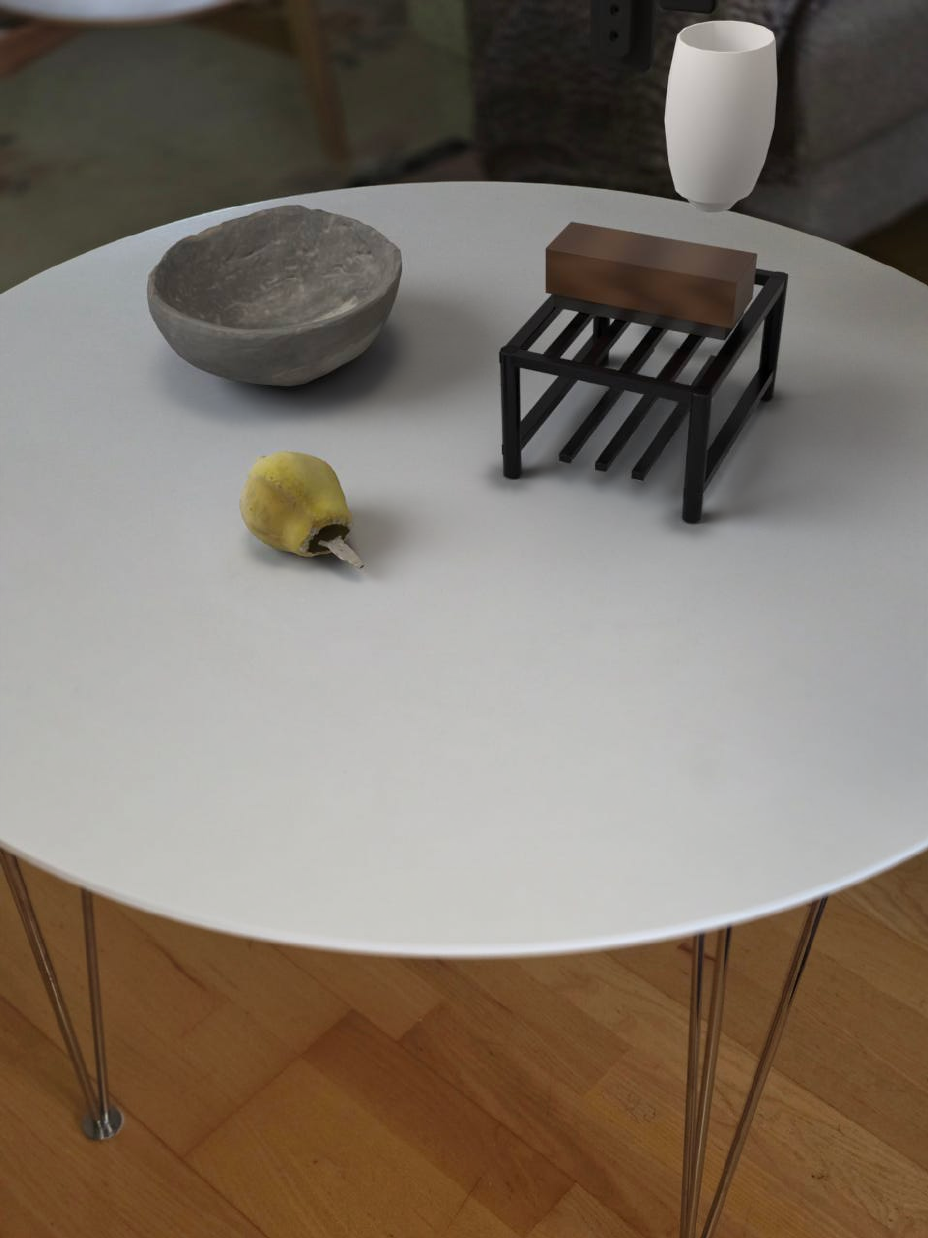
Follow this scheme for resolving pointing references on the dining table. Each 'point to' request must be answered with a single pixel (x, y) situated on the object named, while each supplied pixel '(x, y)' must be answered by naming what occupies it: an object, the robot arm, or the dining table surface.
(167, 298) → the bowl
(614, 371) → the rack
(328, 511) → the fruit
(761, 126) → the cup
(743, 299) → the brown wooden block
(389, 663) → the dining table surface
